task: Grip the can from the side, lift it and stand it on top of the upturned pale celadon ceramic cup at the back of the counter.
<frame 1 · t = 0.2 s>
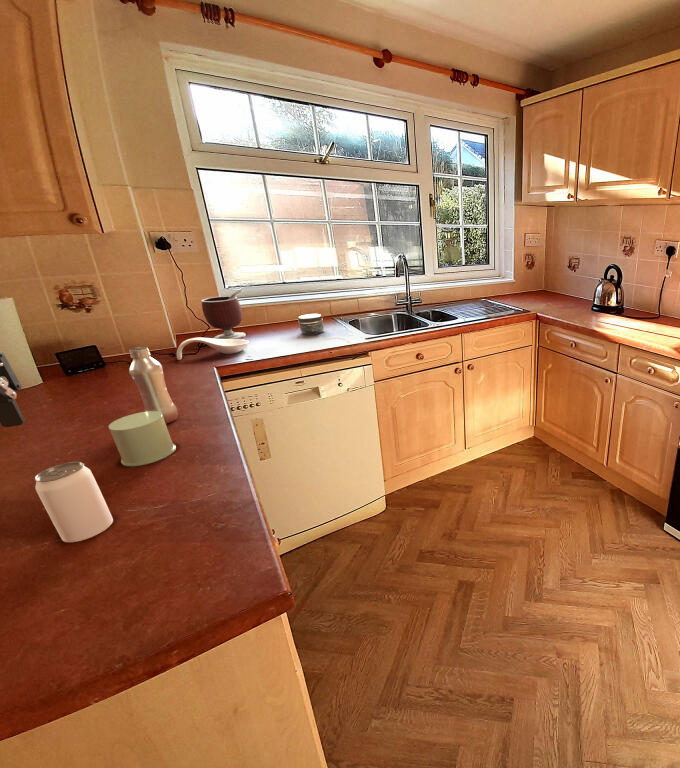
can: (89, 531, 72), on the counter
mate gourd: (232, 337, 188), on the counter
plastic bottle: (165, 423, 110), on the counter
jar: (313, 332, 193), on the counter
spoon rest: (215, 354, 164), on the counter
cup: (150, 456, 94), on the counter
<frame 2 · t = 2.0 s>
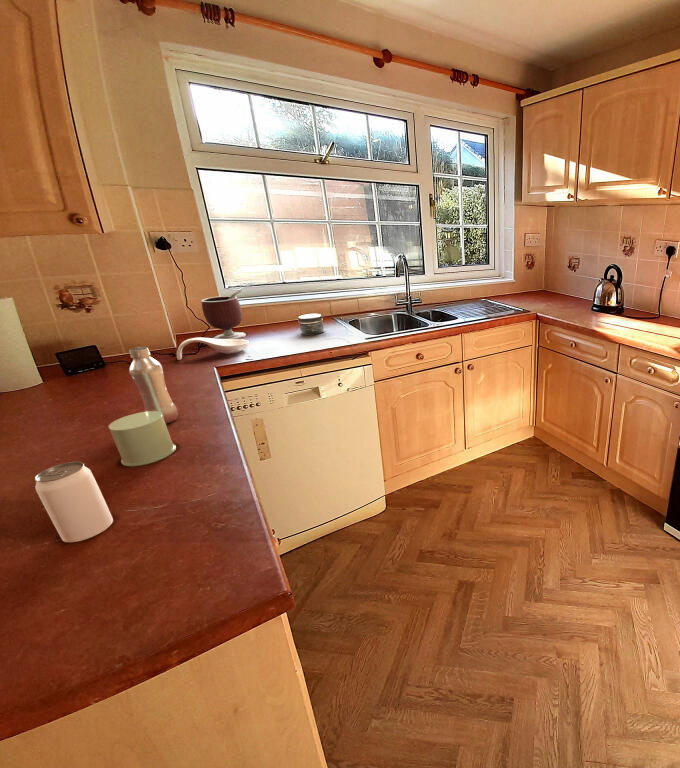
nothing on the counter moved.
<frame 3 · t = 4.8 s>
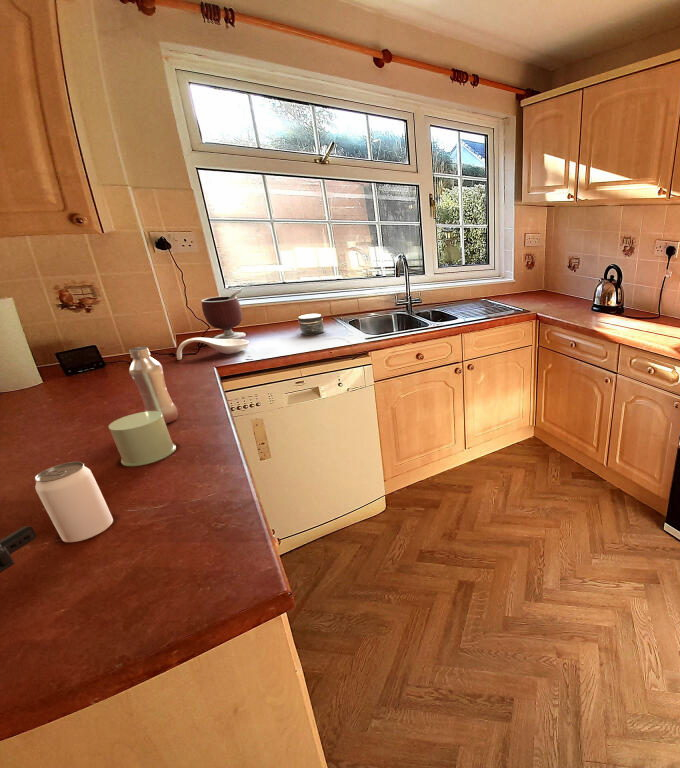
hand: (5, 529, 61), 8 cm above the counter, tool horizontal, fingers open, 8 cm apart
nothing on the counter moved.
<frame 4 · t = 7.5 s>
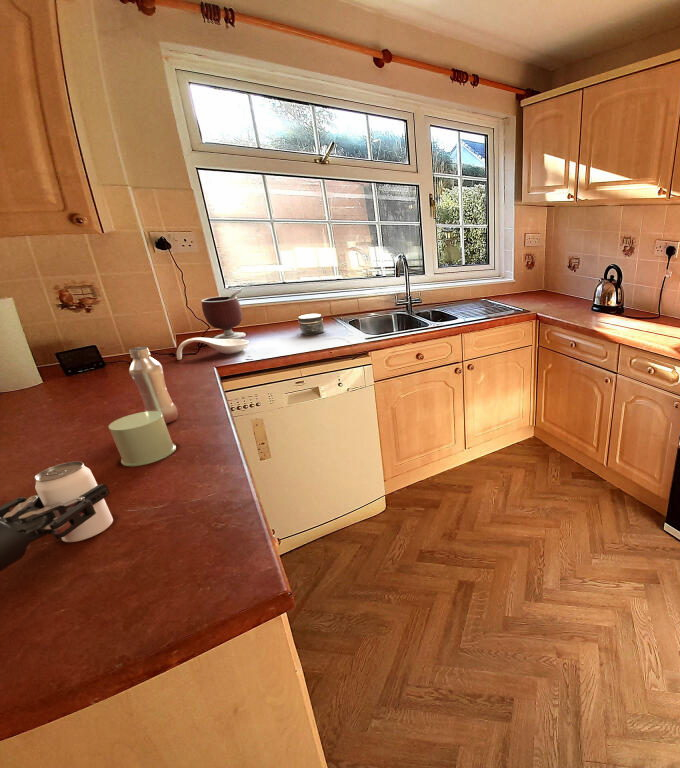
hand: (87, 487, 72), 7 cm above the counter, tool horizontal, fingers closed on can, 6 cm apart
can: (89, 531, 72), on the counter, touching gripper
everything else where it was.
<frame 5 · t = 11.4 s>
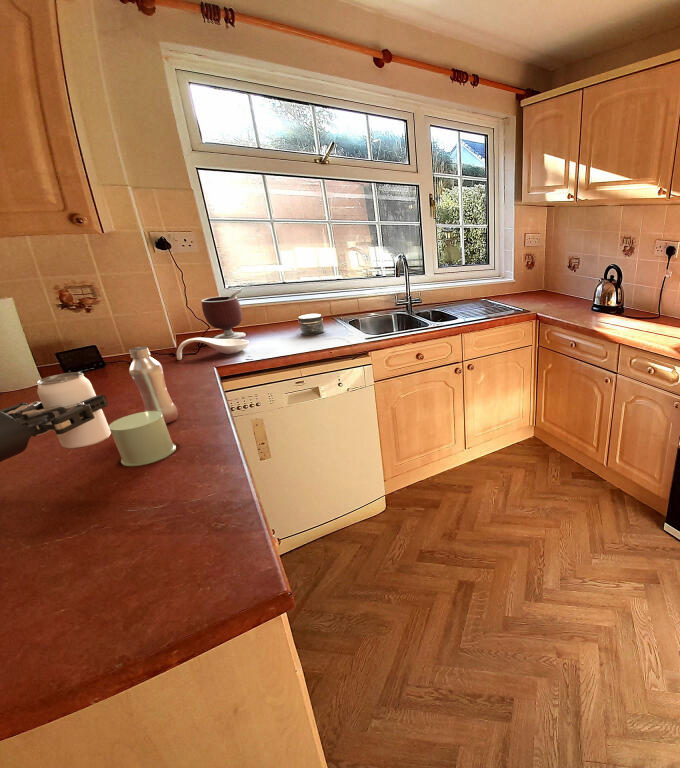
hand: (86, 399, 75), 20 cm above the counter, tool horizontal, fingers closed on can, 6 cm apart
can: (88, 441, 75), point 12 cm above the counter, touching gripper
everything else where it was.
when the fingers open (16 cm above the counter, at t = 15.4 s): can stays where it is, resting on cup.
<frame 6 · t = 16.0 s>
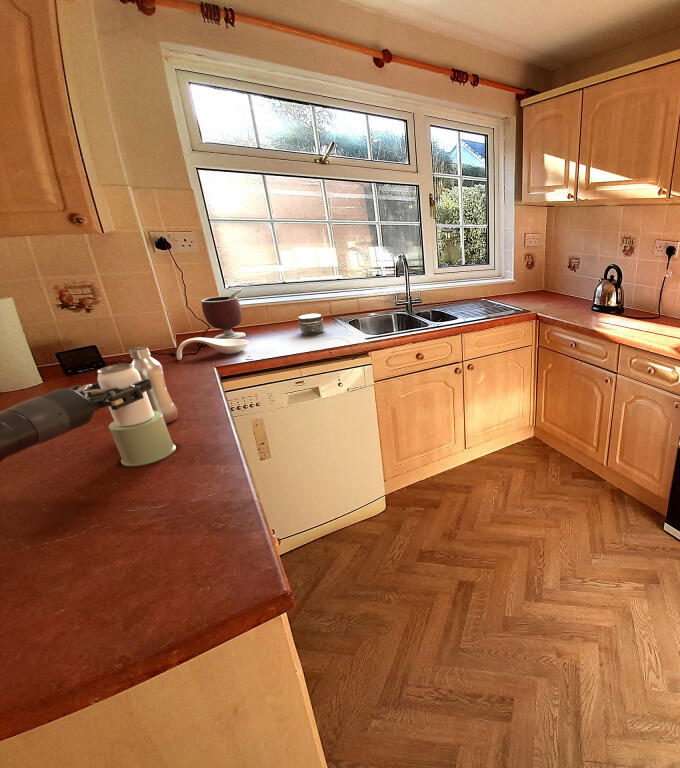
hand: (131, 382, 90), 17 cm above the counter, tool horizontal, fingers open, 8 cm apart
can: (136, 421, 91), point 9 cm above the counter, touching cup
everything else where it was.
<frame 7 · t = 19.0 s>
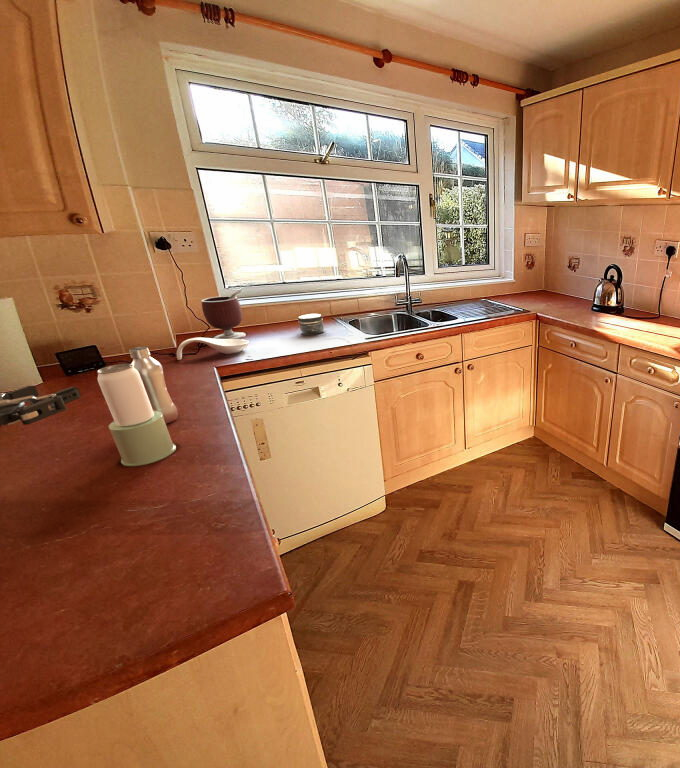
hand: (56, 391, 77), 20 cm above the counter, tool horizontal, fingers open, 8 cm apart
nothing on the counter moved.
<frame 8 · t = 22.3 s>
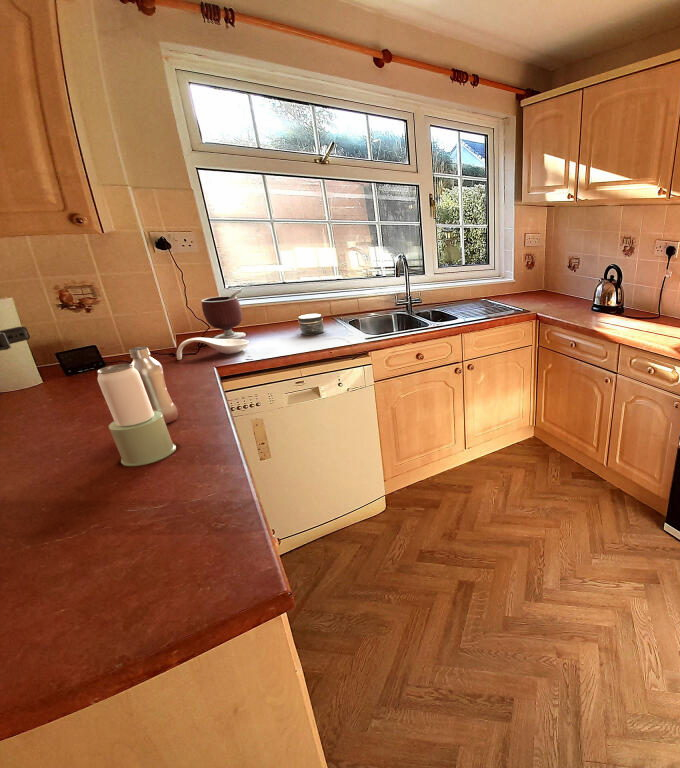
hand: (3, 332, 70), 32 cm above the counter, tool horizontal, fingers open, 8 cm apart
nothing on the counter moved.
at the end: can 0.2 cm off-centre on the cup, point 8.8 cm above the cup's base; can tilted 0°; the gripper is holding nothing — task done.
